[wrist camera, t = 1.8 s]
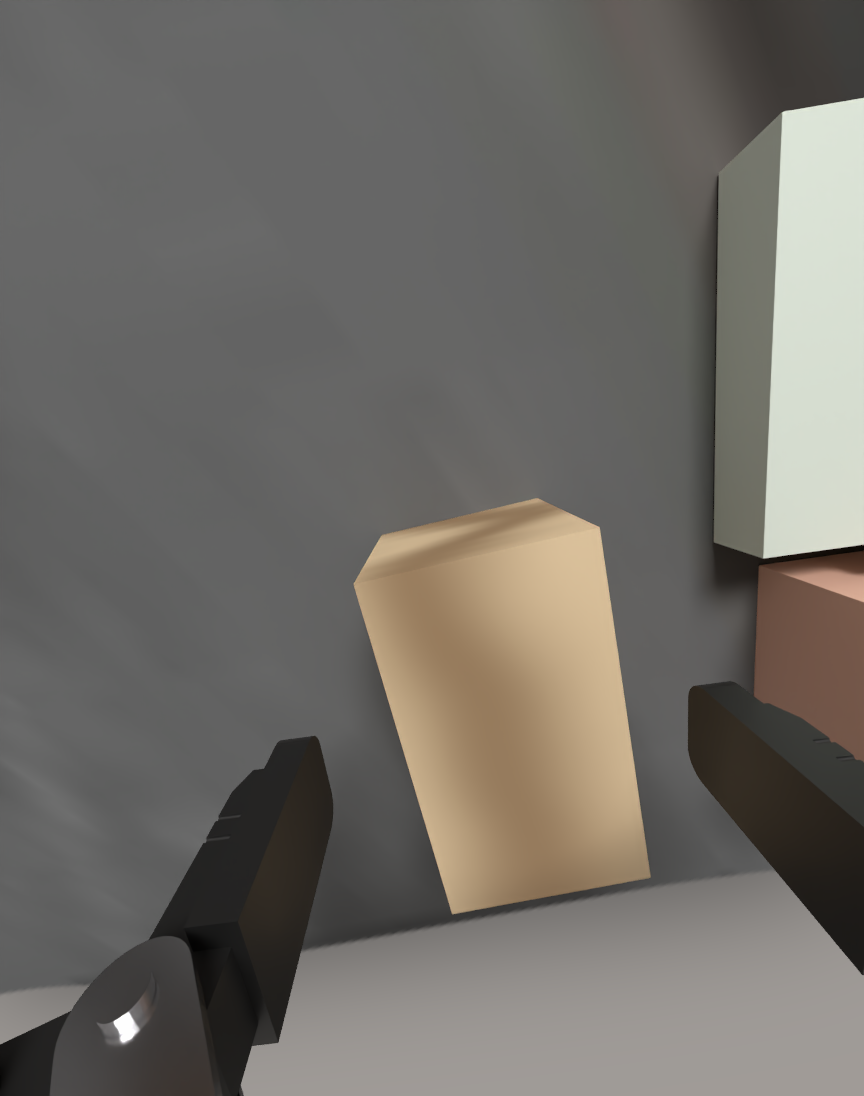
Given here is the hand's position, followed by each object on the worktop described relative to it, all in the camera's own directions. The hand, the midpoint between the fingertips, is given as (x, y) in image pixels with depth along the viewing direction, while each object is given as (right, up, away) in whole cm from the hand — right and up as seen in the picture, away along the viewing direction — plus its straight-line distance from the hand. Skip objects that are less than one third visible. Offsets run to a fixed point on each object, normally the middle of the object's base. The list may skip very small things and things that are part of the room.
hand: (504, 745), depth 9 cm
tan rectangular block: (0, +1, +5) cm, 5 cm away
